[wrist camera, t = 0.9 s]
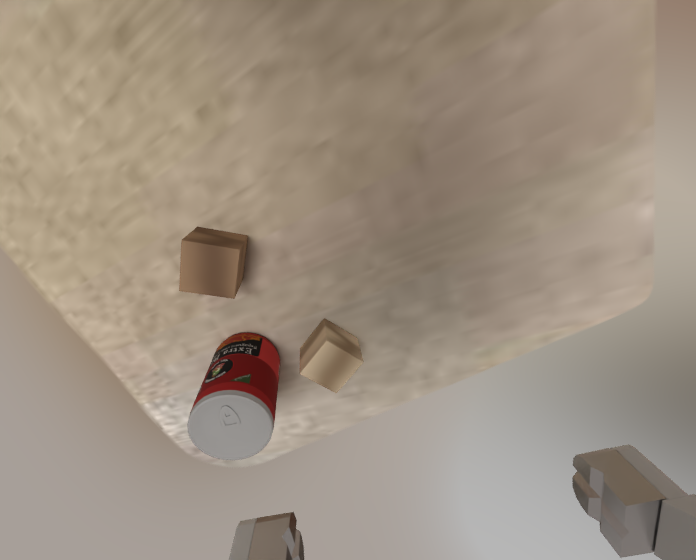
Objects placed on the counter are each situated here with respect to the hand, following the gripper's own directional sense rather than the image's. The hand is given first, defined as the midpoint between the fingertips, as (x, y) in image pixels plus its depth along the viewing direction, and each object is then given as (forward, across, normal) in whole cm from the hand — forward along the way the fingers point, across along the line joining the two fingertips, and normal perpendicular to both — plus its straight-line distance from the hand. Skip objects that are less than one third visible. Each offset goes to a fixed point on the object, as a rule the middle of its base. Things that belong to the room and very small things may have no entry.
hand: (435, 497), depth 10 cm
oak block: (+30, +5, +11) cm, 33 cm away
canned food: (+30, +15, +11) cm, 35 cm away
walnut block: (+29, +14, -3) cm, 32 cm away
